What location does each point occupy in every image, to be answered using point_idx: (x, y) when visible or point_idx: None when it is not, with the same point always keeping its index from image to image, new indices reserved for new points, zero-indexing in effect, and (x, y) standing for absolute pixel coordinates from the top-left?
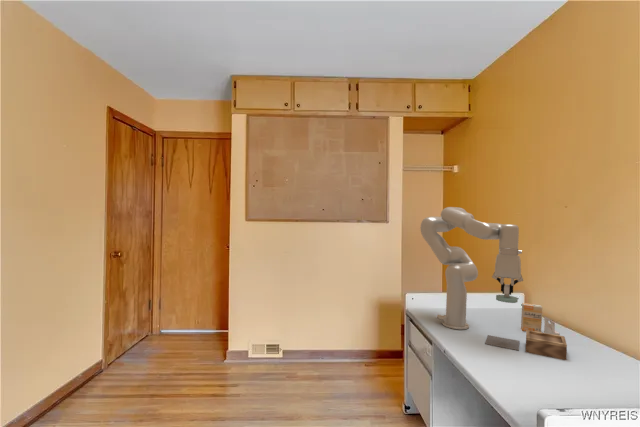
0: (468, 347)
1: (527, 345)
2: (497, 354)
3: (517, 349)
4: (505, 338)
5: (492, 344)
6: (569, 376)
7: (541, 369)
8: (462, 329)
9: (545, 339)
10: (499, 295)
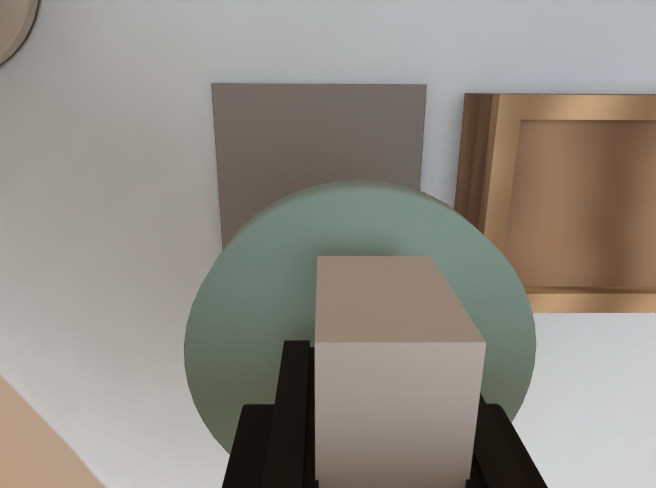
0: (160, 385)
1: None
2: None
3: None
4: (333, 89)
5: None
6: (597, 471)
7: None
8: (15, 50)
9: (605, 210)
10: (233, 325)
